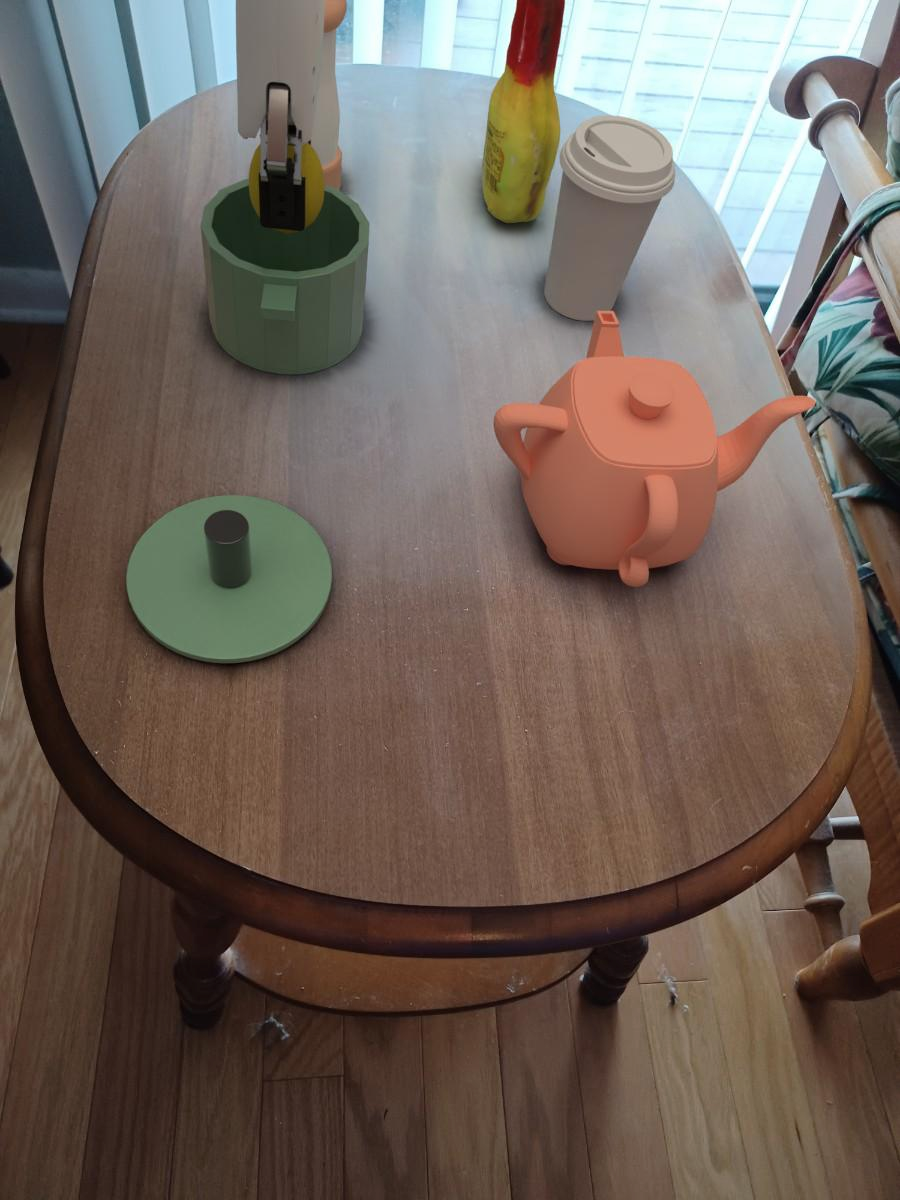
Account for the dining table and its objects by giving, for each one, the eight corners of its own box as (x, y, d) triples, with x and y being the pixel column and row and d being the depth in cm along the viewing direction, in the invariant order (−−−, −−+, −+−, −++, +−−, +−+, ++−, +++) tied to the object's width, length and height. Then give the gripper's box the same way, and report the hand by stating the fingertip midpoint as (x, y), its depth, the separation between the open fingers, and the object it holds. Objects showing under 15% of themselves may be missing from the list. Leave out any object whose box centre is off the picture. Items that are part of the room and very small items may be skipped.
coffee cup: (517, 264, 89) (552, 107, 77) (613, 264, 91) (662, 111, 79) (541, 333, 84) (582, 177, 72) (641, 331, 86) (699, 179, 74)
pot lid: (112, 663, 61) (95, 610, 56) (145, 499, 68) (133, 439, 63) (326, 673, 62) (329, 622, 57) (335, 511, 70) (338, 454, 65)
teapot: (568, 407, 79) (613, 272, 68) (746, 514, 75) (824, 389, 64) (457, 520, 71) (487, 388, 60) (649, 647, 67) (720, 531, 56)
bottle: (468, 163, 97) (502, -56, 81) (528, 167, 98) (574, -48, 82) (481, 235, 91) (522, 14, 74) (546, 239, 92) (600, 21, 75)
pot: (198, 391, 75) (186, 292, 67) (223, 248, 85) (216, 148, 77) (358, 404, 76) (365, 309, 68) (365, 262, 86) (371, 165, 79)
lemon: (240, 217, 74) (234, 117, 67) (306, 205, 76) (307, 107, 69) (266, 261, 71) (263, 161, 65) (334, 247, 73) (338, 149, 67)
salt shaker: (253, 168, 92) (243, -53, 76) (322, 157, 95) (327, -60, 79) (282, 212, 89) (279, -9, 73) (353, 199, 91) (364, -18, 76)
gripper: (233, -141, 61) (246, 131, 75) (200, -14, 51) (222, 269, 66) (351, -124, 61) (341, 142, 76) (340, 4, 52) (331, 279, 67)
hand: (286, 198), depth 71 cm, fingers closed on lemon, 5 cm apart
